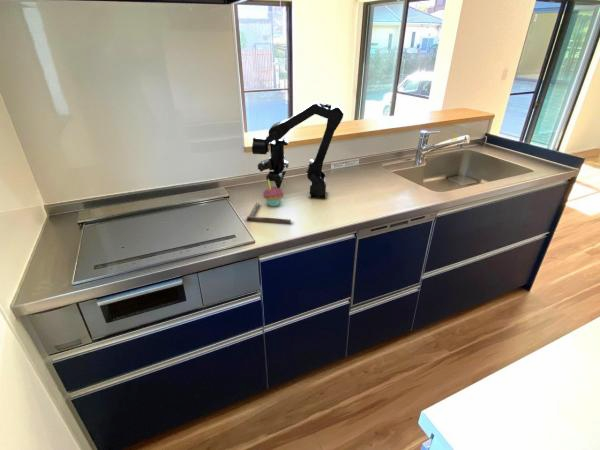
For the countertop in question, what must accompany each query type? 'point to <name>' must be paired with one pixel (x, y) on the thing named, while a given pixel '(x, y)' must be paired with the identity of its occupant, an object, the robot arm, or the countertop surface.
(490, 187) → the countertop surface
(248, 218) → the corner guide
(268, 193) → the cupcake
